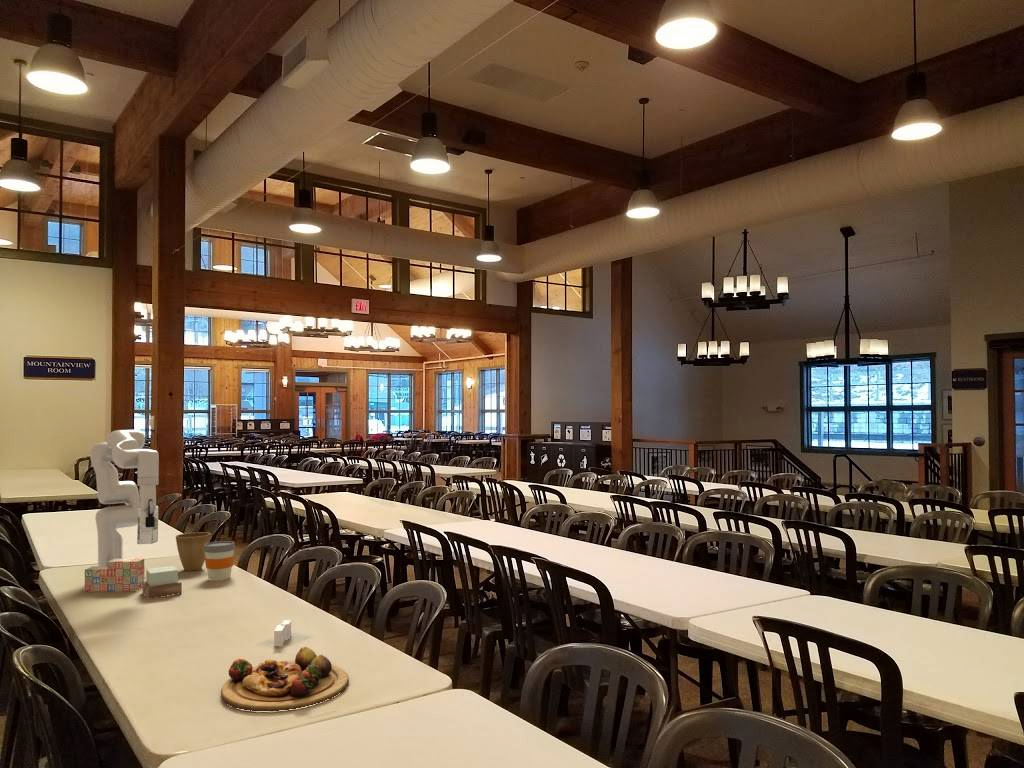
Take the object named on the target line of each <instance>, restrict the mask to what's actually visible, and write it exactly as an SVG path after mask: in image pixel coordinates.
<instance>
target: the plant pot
mask: <svg viewBox="0 0 1024 768" xmlns="http://www.w3.org/2000/svg"><path fill="white" fill-rule="evenodd" d="M210 539H211V533H210V532H203V531H201V532H187V533H181V534H177V535H175V542H176V547H177V552H178V556H179V560H180V562H181V565H182V568H183V571H187V572H190V571H191V572H192V571H193V570H195V571H200V570H202V569H203V566H204V564H205V552H204V547H205V544H207V543H210V541H211V540H210ZM199 569H200V570H199Z"/></svg>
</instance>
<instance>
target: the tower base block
mask: <svg viewBox="0 0 1024 768" xmlns="http://www.w3.org/2000/svg"><path fill="white" fill-rule="evenodd" d="M141 590H142V591H141V593H142V594H143V595H144V594H145V595H146V596H147V597H148V598H153V599H156V598H155V597H159V598H162V597H161V596H166V597H168V596H167V595H172V594H178V593H182V592H183V590H182V582H181V581H180V580H179V579H178V583H171V584H163V585H156V586H150V585H149V584H148V583H147V582H146V580H144V582H143V587H142V589H141ZM145 595H144V596H145ZM146 596H145V597H146ZM147 597H146V598H147ZM148 598H147V599H148Z"/></svg>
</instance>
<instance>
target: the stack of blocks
mask: <svg viewBox="0 0 1024 768" xmlns="http://www.w3.org/2000/svg"><path fill="white" fill-rule="evenodd" d="M107 565H108V566H98V565H97V566H95V565H94V566H90V567H88V568H85V569H84V592H85V591H107V592H108V591H110V592H132V591H131V590H138V591H140V590H142V589H141V588H142V587H143V582H144V581H145V557H144V558H143V557H142V558H136V557H130V558H129V557H128V558H123V559H113V560H111V561H108V564H107ZM139 589H140V590H139Z"/></svg>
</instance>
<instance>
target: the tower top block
mask: <svg viewBox="0 0 1024 768" xmlns="http://www.w3.org/2000/svg"><path fill="white" fill-rule="evenodd" d="M178 572H179V570H178V568H176V567H175V566H174V565H170V566H160V567H153V568H152V567H151V568H146V572H145V573H146V577H145V578H146V580H145V581H146V582H147V583H148V584H149V585H150V586H156V585H163V584H171V583H178V580H179V578H178V577H179V574H178Z"/></svg>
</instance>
